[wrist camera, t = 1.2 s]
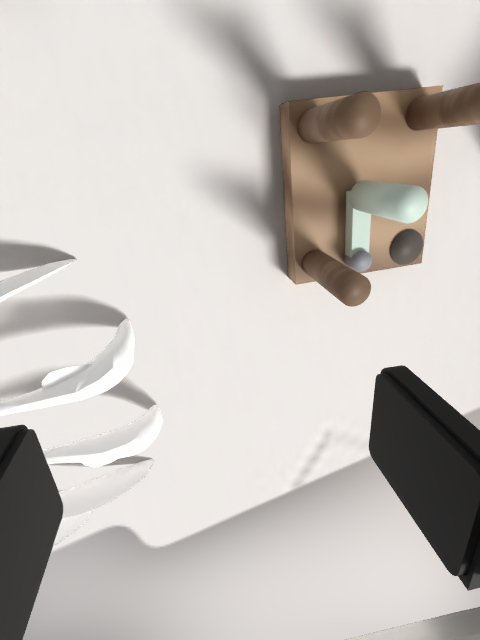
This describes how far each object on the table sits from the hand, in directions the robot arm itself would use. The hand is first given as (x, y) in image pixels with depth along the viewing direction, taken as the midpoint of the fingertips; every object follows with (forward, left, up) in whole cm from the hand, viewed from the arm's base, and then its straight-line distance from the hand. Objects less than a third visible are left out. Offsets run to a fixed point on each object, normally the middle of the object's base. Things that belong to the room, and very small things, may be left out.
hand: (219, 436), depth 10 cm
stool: (-2, +18, -27) cm, 33 cm away
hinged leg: (+1, +17, -25) cm, 30 cm away
